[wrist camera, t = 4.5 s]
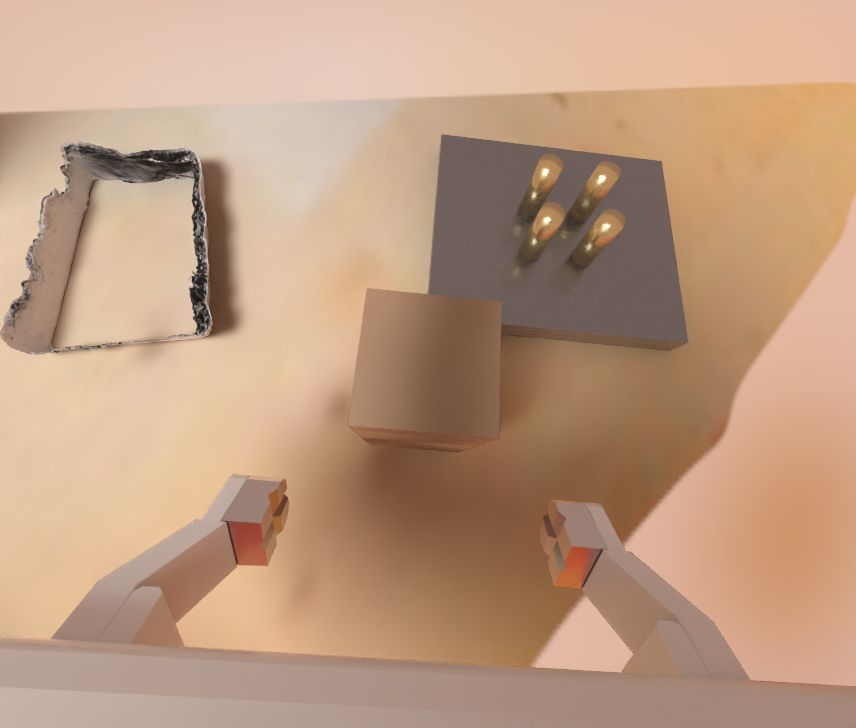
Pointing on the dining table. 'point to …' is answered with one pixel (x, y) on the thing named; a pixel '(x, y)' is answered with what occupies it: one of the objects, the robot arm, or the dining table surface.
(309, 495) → the dining table surface
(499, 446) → the dining table surface
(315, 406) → the dining table surface
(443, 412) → the walnut block
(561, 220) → the chassis plate
